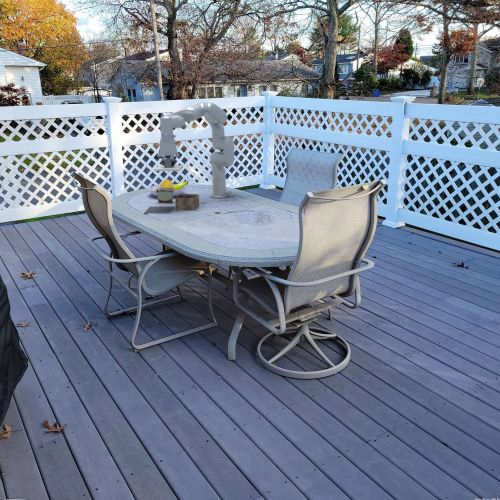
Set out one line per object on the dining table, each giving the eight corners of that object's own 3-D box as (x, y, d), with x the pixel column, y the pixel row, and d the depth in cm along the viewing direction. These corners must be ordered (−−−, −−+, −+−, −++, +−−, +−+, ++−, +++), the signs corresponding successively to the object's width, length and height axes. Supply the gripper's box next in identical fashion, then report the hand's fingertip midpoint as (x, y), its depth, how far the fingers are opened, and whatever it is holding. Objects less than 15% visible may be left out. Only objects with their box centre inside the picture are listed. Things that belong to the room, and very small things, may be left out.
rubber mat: (174, 207, 316) (174, 206, 316) (169, 214, 301) (169, 213, 300) (150, 207, 317) (150, 206, 316) (144, 214, 302) (144, 212, 301)
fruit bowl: (142, 198, 341) (141, 182, 337) (160, 190, 365) (158, 175, 362) (178, 201, 333) (177, 185, 329) (194, 192, 358) (193, 177, 354)
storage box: (199, 205, 320) (198, 194, 318) (196, 210, 308) (195, 198, 305) (179, 205, 321) (179, 194, 318) (176, 210, 309) (175, 198, 306)
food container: (176, 202, 331) (175, 187, 327) (174, 204, 325) (173, 189, 322) (159, 201, 332) (157, 187, 329) (156, 203, 326) (155, 189, 323)
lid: (182, 167, 309) (182, 157, 307) (178, 171, 295) (178, 160, 293) (159, 166, 309) (159, 157, 307) (154, 171, 295) (153, 160, 293)
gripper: (181, 136, 299) (183, 166, 305) (155, 136, 300) (156, 165, 306) (179, 137, 292) (181, 168, 298) (152, 137, 292) (154, 167, 298)
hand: (168, 166), depth 302 cm, fingers closed on lid, 4 cm apart
